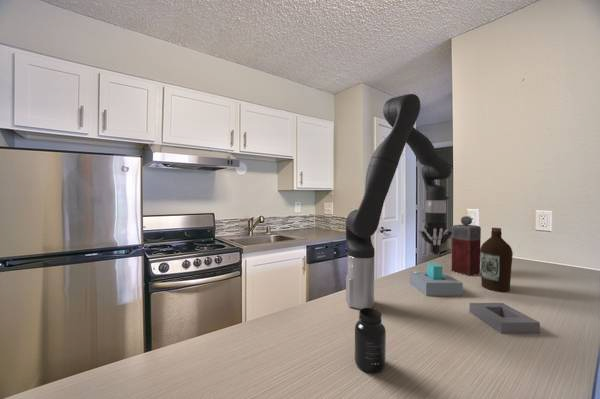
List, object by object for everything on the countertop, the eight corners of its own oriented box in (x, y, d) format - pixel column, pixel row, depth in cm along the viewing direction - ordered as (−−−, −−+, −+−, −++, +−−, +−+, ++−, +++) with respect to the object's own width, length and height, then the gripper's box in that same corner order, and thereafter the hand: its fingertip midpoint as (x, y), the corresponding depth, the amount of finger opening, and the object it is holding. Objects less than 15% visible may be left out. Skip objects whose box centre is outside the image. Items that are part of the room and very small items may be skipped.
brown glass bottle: (489, 282, 114) (490, 226, 113) (517, 290, 104) (519, 229, 103) (473, 285, 110) (475, 227, 109) (501, 294, 100) (502, 230, 99)
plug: (433, 291, 103) (433, 266, 103) (426, 286, 108) (427, 263, 108) (441, 291, 103) (442, 266, 103) (435, 286, 108) (435, 263, 108)
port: (426, 295, 98) (426, 281, 98) (409, 283, 112) (410, 270, 112) (462, 295, 98) (462, 281, 98) (441, 283, 112) (441, 270, 112)
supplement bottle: (350, 355, 62) (351, 305, 61) (378, 353, 62) (378, 304, 62) (359, 375, 55) (360, 319, 55) (390, 373, 55) (391, 318, 55)
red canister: (482, 272, 127) (484, 216, 127) (469, 276, 122) (470, 217, 122) (464, 268, 135) (465, 215, 135) (451, 271, 130) (452, 215, 130)
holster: (500, 333, 72) (501, 322, 72) (469, 311, 85) (469, 302, 85) (539, 333, 72) (539, 322, 72) (502, 311, 85) (502, 302, 85)
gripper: (424, 212, 101) (423, 256, 101) (457, 212, 101) (456, 256, 101) (415, 210, 108) (414, 251, 109) (446, 210, 108) (445, 251, 109)
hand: (435, 253), depth 105 cm, fingers closed
